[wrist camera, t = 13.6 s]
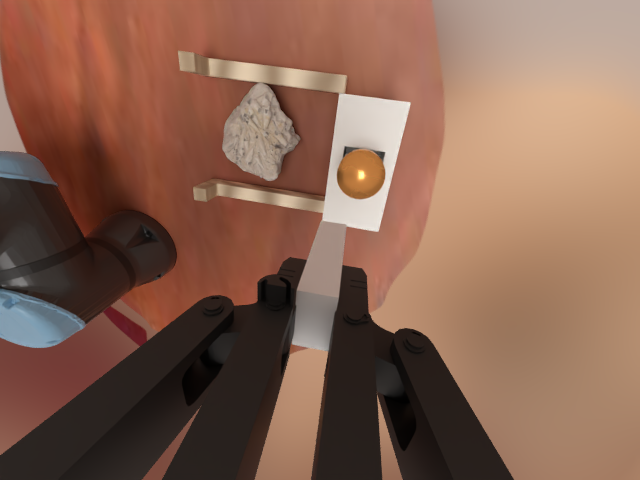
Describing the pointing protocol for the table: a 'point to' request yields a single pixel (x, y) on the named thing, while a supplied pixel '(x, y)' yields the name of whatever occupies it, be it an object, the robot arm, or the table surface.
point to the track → (270, 77)
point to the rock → (259, 134)
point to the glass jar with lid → (361, 174)
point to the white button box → (363, 133)
